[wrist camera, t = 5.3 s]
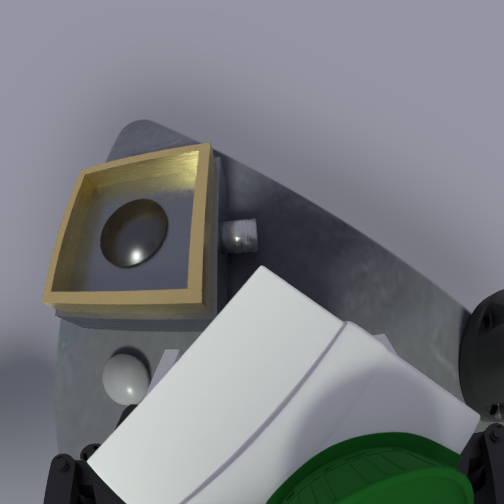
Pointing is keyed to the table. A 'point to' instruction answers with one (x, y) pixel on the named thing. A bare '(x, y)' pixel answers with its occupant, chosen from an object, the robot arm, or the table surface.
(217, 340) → the soya milk
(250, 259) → the table surface
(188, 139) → the table surface
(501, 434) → the robot arm
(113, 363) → the grey round lid
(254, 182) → the table surface
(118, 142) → the table surface
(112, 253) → the wooden rimmed tray
